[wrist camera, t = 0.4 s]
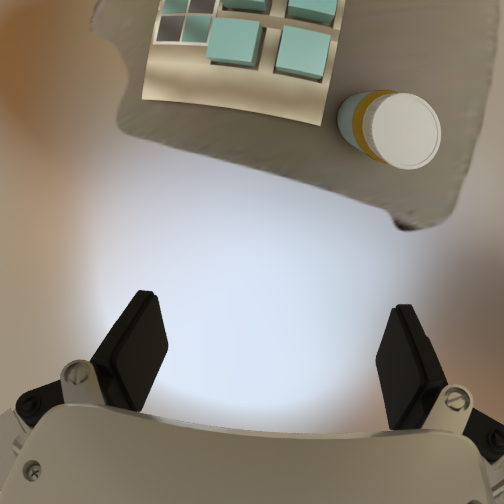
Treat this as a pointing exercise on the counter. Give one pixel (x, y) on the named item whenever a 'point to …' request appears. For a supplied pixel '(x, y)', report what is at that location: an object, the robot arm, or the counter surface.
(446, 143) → the counter surface
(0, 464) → the robot arm
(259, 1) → the button
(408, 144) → the bottle
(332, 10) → the button
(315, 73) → the button
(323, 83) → the button board
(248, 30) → the button
